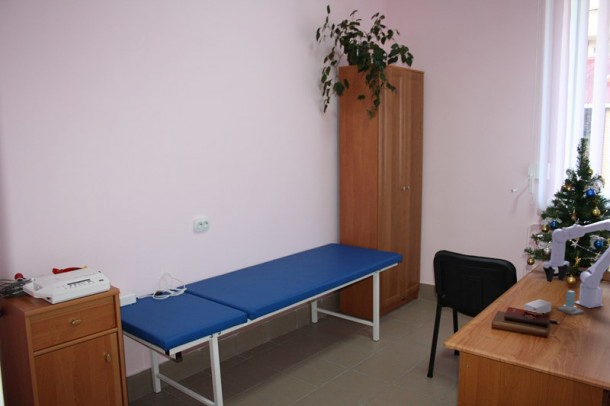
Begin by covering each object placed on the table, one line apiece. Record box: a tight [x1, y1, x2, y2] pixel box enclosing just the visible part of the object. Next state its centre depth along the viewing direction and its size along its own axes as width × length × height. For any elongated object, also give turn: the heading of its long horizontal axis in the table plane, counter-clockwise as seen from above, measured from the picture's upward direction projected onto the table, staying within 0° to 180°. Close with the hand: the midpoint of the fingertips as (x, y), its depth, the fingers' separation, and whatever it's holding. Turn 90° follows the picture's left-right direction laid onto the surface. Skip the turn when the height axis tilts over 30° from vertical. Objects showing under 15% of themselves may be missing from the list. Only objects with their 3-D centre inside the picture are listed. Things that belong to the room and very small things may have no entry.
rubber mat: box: [556, 305, 585, 316], centre depth 215 cm, size 8×8×1 cm
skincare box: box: [523, 298, 552, 314], centre depth 214 cm, size 6×4×12 cm
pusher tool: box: [562, 289, 577, 311], centre depth 215 cm, size 4×4×8 cm
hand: (555, 280), depth 227 cm, fingers open, 7 cm apart
